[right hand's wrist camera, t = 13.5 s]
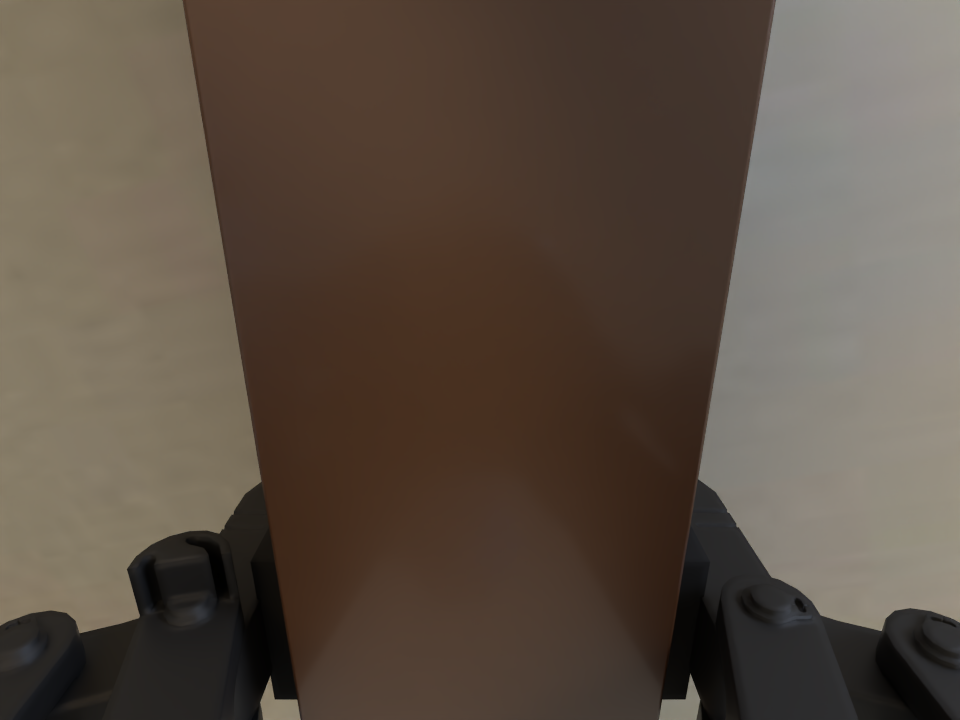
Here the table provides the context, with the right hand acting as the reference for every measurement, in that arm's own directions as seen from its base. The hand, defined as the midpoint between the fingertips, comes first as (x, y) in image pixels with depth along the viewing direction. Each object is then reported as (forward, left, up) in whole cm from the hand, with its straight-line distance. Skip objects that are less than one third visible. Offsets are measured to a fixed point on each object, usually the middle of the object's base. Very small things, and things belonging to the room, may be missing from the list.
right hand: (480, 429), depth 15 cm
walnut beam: (0, +12, -1) cm, 12 cm away
